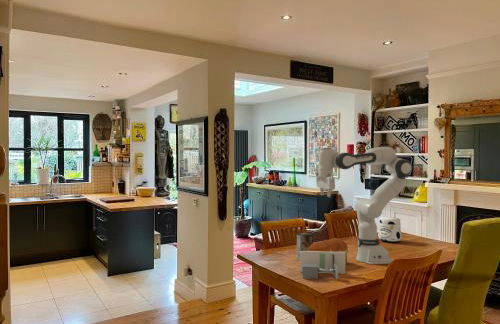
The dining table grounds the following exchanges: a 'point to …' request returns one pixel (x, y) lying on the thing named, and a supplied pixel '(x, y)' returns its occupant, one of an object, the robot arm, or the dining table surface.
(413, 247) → the dining table surface
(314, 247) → the bread
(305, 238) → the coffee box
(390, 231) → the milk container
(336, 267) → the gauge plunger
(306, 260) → the gauge housing
